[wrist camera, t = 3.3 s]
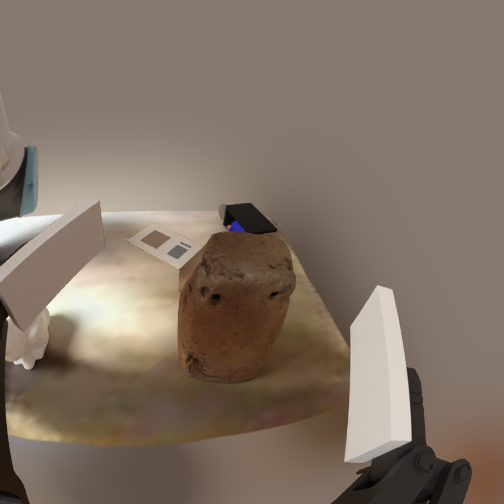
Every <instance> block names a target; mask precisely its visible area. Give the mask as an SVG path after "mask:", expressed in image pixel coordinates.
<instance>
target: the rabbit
mask: <svg viewBox="0 0 504 504" xmlns="http://www.w3.org/2000/svg"><path fill="white" fill-rule="evenodd" d="M7 321H8V332H7V341H6V354H5V360H7V361H9V362H13V361H14V364H16V365H19V364H23V366H24V368H25V369H27V370H30V369H32V368H33V367H34V364H35V360H37V359H41V358H42V357H43V356H44V352H45V349H46V346H47V343H48V341H49V332H48V326H49V324H50V313H49V311H48V309H47V308H46V307H45V308H44V309H43V311H42V312H41V313H40V314H39V315H38V316H37V318H36V319H35V320H34V321H33V322H32V323H31V325H30V326H29V327H28V328H27V329H26V331H25V332H24V333H23V332H22V331H21V330H20V329H19V328H17V327H16V326H15V325H14V323H13V322H12V320H11V318H10V317H9V316H8V318H7Z"/></svg>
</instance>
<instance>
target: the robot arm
mask: <svg viewBox="0 0 504 504" xmlns="http://www.w3.org/2000/svg"><path fill="white" fill-rule="evenodd" d="M37 201H38V154H37V148H36V146H30V145H28V146H27V147H24V144H23V141H22V139H21V138H20V136H19V135H17V134H16V133H14V132H10V128H9V125H8V121H7V117H6V113H5V109H4V105H3V100H2V96H1V90H0V221H4V220H7V219H11V218H15V217H19V218H20V217H22V216H23V215H26V214H30V213H32V212H33V211H34V210H35V209H36V207H37ZM104 247H105V242H104V235H103V227H102V218H101V208H100V200H96V199H93V198H90V197H89V198H87V199H86V200H84V201H83V202H81V203H80V204H79V205H77V206H76V207H74V208H73V209H71V210H70V211H69V212H67V213H66V214H64V215H63V216H62V217H60V218H59V219H57V220H56V221H55V222H53V223H52V224H51V225H49V226H48V227H47V228H46V229H44V230H43V231H42V232H40V233H39V234H38V235H37V236H35V237H34V238H33V239H32V240H30V241H28V242H26V243H24V244H23V245H21V246H20V247H19V248H18V249H17V250H15V252H13V253H12V254H11V255H10V256H9V258H6V259H5V260H4V261H3V262H2V257H1V254H0V504H29V501H28V497H27V494H26V490H25V488H24V485H23V483H22V481H21V480H20V479H19V477H18V476H17V475H16V473H15V472H14V469H13V465H12V459H11V454H10V448H9V442H8V433H7V424H6V412H5V354H6V341H7V332H8V321H7V318H8V316H9V317H10V318H11V320H12V322H13V323H14V325H15V326H16V327H17V328H19V329H20V330H21V331H22V332H23V333H24V332H25V331H26V329H27V328H28V327H29V326H30V325H31V323H32V322H33V321H34V320H35V319H36V318H37V316H38V315H39V314H40V313H41V312H42V311H43V309H44V308H45V307H46V306H47V305H48V304H49V303H50V302H51V301H52V299H53V298H54V297H55V296H56V295H57V294H58V293H59V292H60V291H61V290H62V289H63V288H64V287H65V285H66V284H67V283H68V282H69V281H70V280H71V279H72V278H73V277H74V276H75V275H76V274H77V273H78V272H79V271H80V270H81V269H82V268H83V267H84V266H85V265H86V264H87V263H88V262H89V261H90V260H91V259H92V258H93V257H94V256H95V255H96V254H97V253H99V252H100V251H101V250H102V249H103V248H104ZM350 332H351V369H350V399H349V416H348V429H347V441H346V451H345V459H344V462H353V463H364V462H366V461H369V460H371V459H372V465H371V466H370V467H367V468H364V469H361V470H359V471H358V472H357V475H358V474H361V473H363V474H362V475H361V476H360V477H359V478H358V479H357V480H356V481H355V482H354V483H353V484H352V485H351V486H350V487H349V488H348V489H347V490H345V492H343V493H342V494H341V495H340V496H339V497H338V498H337V499H336V500H335V501H333V502H332V503H331V504H427V502H428V500H430V501H429V503H428V504H463V501H464V498H465V495H466V492H467V489H468V487H469V484H470V480H471V475H472V470H471V466H470V463H469V462H468V461H467V460H466V459H459V460H457V461H454V462H452V463H450V462H447V461H443V460H441V459H439V458H436V456H435V453H434V451H433V450H432V448H431V447H429V446H427V445H426V439H425V421H424V409H423V405H422V404H423V398H422V395H421V394H422V390H421V382H420V379H419V377H418V374H417V372H416V370H415V369H413V368H408V367H406V362H405V355H404V348H403V342H402V336H401V330H400V325H399V320H398V315H397V310H396V305H395V300H394V295H393V291H392V290H391V289H388V288H385V287H381V286H379V285H377V287H376V288H375V290H374V291H373V293H372V295H371V296H370V298H369V299H368V301H367V303H366V304H365V306H364V307H363V309H362V310H361V312H360V313H359V315H358V316H357V318H356V319H355V321H354V322H353V323H352V325H351V327H350Z"/></svg>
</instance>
